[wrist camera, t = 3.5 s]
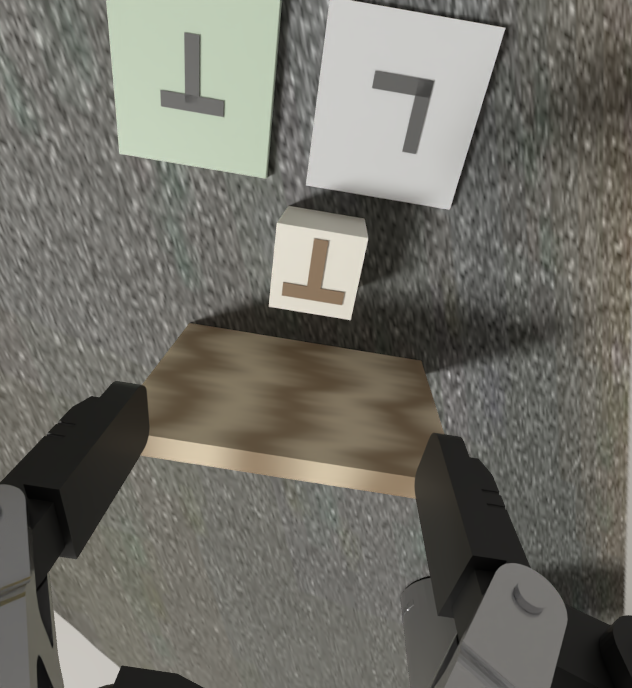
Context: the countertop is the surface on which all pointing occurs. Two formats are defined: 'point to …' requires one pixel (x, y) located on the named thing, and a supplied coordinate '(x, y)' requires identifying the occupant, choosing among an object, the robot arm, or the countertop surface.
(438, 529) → the robot arm
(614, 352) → the countertop surface
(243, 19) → the board
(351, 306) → the cube
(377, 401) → the thin wooden plank
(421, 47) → the board
